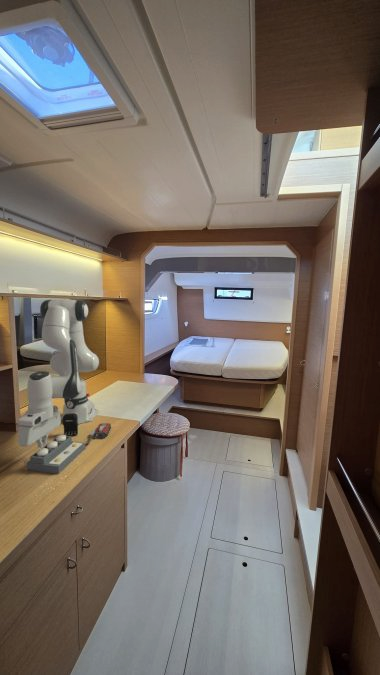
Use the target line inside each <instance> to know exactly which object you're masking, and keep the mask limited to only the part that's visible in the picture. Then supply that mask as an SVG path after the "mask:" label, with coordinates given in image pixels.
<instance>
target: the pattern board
mask: <svg viewBox="0 0 380 675" xmlns="http://www.w3.org/2000/svg"><path fill="white" fill-rule="evenodd" d="M72 437H73V436H66V440H65V441H64V442H62V443H61V442H57V443H58V446H57V447H56V448H55V449H54V450H52V449H48V454H47V455H46V456H45V457H37V451H35V452H34V453H33V454H32V455H30V457H29V459H30V460H28V461H26V471H34V472H42V473H48V474H49V473H50V474H57V475H59V474H61V473H62V472H63V471H64V470H65V469H66V468H67V467H68V466H69V465H70V464H71V463H72V462H73V461H75V459H77V457H78V456H79V455H80V454H82V453H83V452H84V451H85V450H86V442H82V441H81V442H80V441H73V440H72V439H73V438H72ZM51 441H56V437H55V438H54V439H52V440H51ZM42 448H47V444H46V445H44V446H43V447H41V448H40V449H42Z"/></svg>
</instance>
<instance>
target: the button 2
mask: <svg viewBox="0 0 380 675" xmlns="http://www.w3.org/2000/svg"><path fill="white" fill-rule="evenodd" d="M55 438H56V441H57V442H61V443H62V442H64V441H65V440H66V435H64V434H59V435H57V436H56V437H55Z"/></svg>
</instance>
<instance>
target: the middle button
mask: <svg viewBox="0 0 380 675" xmlns="http://www.w3.org/2000/svg"><path fill="white" fill-rule="evenodd" d="M46 445H47V449H52V450H54V449H55V448H56V447H57V446H58V443H57V441H52V440H51V441H49V442H46Z"/></svg>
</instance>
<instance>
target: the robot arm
mask: <svg viewBox="0 0 380 675" xmlns="http://www.w3.org/2000/svg"><path fill="white" fill-rule="evenodd" d="M39 307H40V308H39V313H40V316H41V318H42V319H43V321H42V322H43V324H42V329H41V339H42V340H41V341H43V343H44V344H45V345H46V346H47V347H49V348H51V349H53V350H56V351H59V352H60V353H55V354H53V355H52V356H51V358H50V360H49V366H50V368H51V370H52V371H53V372H55V373H57V375H51V372H48V371H36V372H33V373H31V374H30V375H28V379H27V389H26V392H27V393H26V394H27V395H26V396H27V399H28V405H27V410H26V411H25V412H24V413H23V414H22V415H21V417H19V418H18V419H17V425H18V426H19V427H18V430H17V442H18V445H19V446H21V447H29V446H31V445H33V444H35V442H36V444H37V448H39V449H41V448H43V447H44V446H46V445H47V440H48V438H49V433H51V432H52V431H54V430H56V429H57V428H58V427H60V425H61V422H62V421H63V416H64V414H66V413H77V414H78V425H80V424H84V423H89V422H92V421H93V420H94V419H93V418H96V416H97V415H98V414H99V412H100V410H99V409H97V408H96V406H95V403H94V402H92V401H91V400H90V399H89V398H90V397H91V393H90V392H89V393H88V392H87V382H86V380H84V378H82V377H80V373H90V372H94V371H96V370H97V369H98V368H99V365H100V359H99V357H98V355H97V354H96V353H94V352H92V351H91V349H89V347H88V346H87V344H86V341H85V336H84V325H83V321H85V320H86V319H87V318H88V314H89V307H88V304H87V303H86V301H84V300H80V299H77V300H76V299H69V298H67V299H65V298H64V299H46V300H44V301H42V302H41V303H40V306H39ZM53 399H64V400H63V401H64V404H63V406H62V415H61V413H60V411H59V407H58V406H57V405H54V402H53ZM98 411H99V412H98ZM97 413H98V414H97ZM96 414H97V415H96Z"/></svg>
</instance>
